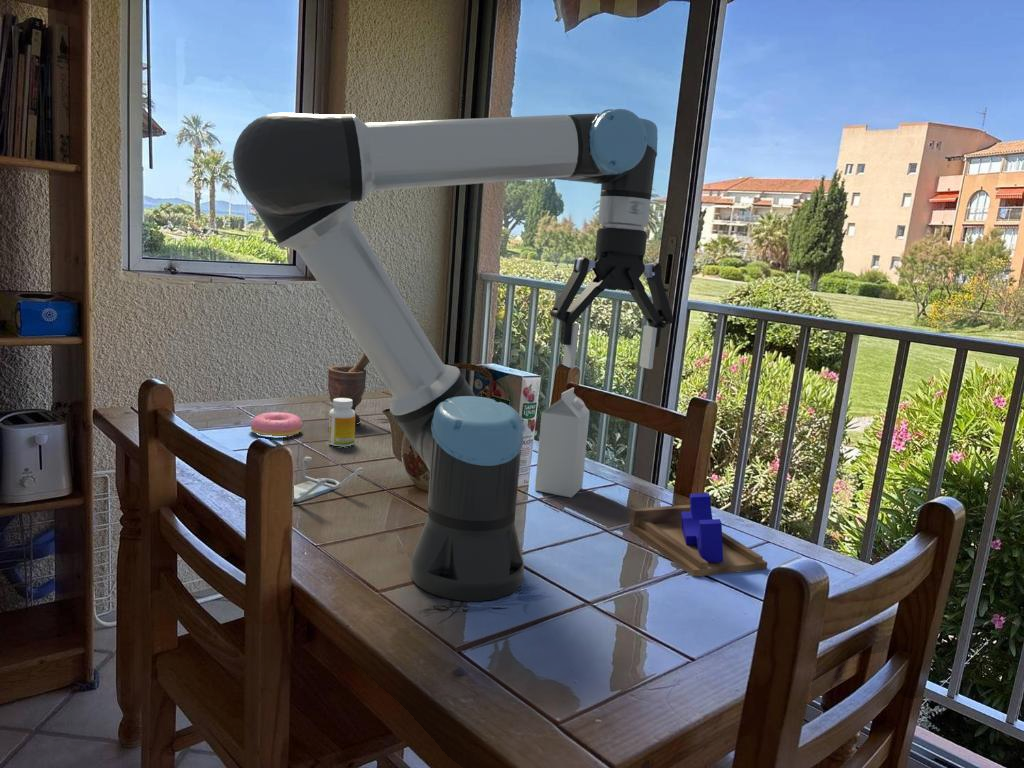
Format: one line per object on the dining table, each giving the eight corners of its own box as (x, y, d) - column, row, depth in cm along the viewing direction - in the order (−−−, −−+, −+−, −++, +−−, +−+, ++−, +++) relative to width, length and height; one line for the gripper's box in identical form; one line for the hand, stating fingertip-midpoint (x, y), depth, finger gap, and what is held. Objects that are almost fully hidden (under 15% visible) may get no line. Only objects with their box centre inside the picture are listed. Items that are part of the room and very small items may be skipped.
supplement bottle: (359, 444, 157) (361, 400, 155) (341, 449, 153) (342, 403, 151) (341, 439, 160) (343, 395, 158) (322, 444, 155) (324, 399, 154)
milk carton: (534, 491, 136) (543, 390, 133) (547, 481, 143) (555, 384, 139) (571, 498, 134) (581, 396, 130) (582, 488, 140) (592, 390, 137)
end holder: (693, 576, 105) (696, 553, 104) (629, 528, 121) (631, 508, 121) (766, 568, 110) (769, 546, 109) (695, 523, 126) (697, 504, 126)
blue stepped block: (681, 529, 120) (680, 494, 118) (710, 528, 119) (708, 493, 118) (691, 563, 108) (689, 524, 107) (723, 561, 107) (721, 523, 106)
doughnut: (238, 433, 159) (239, 414, 159) (278, 424, 169) (279, 407, 168) (274, 443, 154) (274, 424, 153) (313, 434, 163) (313, 415, 162)
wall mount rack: (315, 478, 135) (316, 447, 134) (374, 495, 128) (375, 462, 127) (247, 500, 121) (248, 466, 120) (308, 520, 115) (309, 484, 114)
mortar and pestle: (363, 416, 182) (367, 336, 178) (382, 424, 175) (386, 341, 171) (320, 421, 174) (322, 336, 170) (337, 429, 168) (340, 342, 164)
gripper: (557, 220, 103) (544, 370, 107) (706, 234, 112) (689, 372, 116) (536, 220, 110) (524, 361, 114) (678, 234, 119) (663, 363, 123)
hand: (608, 367), depth 115 cm, fingers open, 13 cm apart
